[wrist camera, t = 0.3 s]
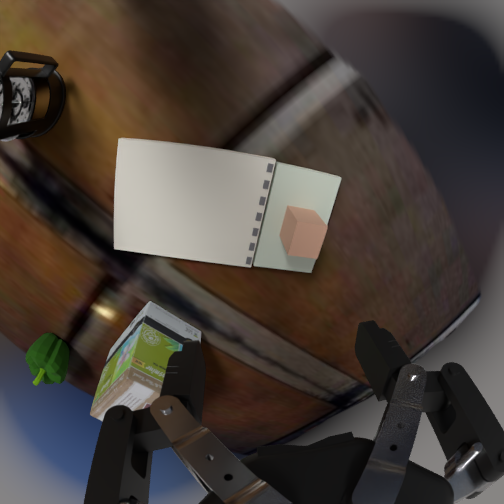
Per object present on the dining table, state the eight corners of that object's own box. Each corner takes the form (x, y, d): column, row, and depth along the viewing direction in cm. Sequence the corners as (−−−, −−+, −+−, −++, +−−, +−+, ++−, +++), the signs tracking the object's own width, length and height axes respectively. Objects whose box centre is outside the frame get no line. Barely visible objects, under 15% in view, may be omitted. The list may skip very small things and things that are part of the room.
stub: (252, 261, 38) (258, 288, 33) (276, 161, 32) (287, 172, 27) (309, 269, 39) (321, 294, 34) (338, 176, 33) (359, 189, 28)
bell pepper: (57, 323, 40) (36, 364, 32) (82, 354, 44) (67, 396, 35) (31, 329, 41) (10, 366, 32) (55, 358, 45) (39, 396, 36)
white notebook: (116, 244, 35) (113, 249, 34) (122, 137, 29) (118, 139, 27) (250, 262, 38) (251, 268, 37) (274, 158, 32) (276, 160, 31)
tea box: (147, 297, 39) (125, 378, 26) (202, 330, 43) (200, 411, 30) (109, 347, 44) (88, 417, 31) (156, 373, 48) (147, 442, 35)
